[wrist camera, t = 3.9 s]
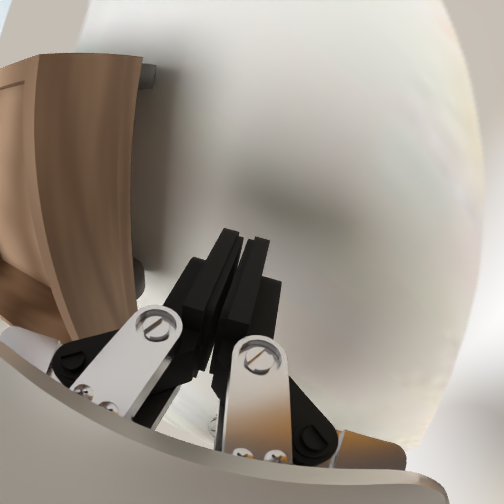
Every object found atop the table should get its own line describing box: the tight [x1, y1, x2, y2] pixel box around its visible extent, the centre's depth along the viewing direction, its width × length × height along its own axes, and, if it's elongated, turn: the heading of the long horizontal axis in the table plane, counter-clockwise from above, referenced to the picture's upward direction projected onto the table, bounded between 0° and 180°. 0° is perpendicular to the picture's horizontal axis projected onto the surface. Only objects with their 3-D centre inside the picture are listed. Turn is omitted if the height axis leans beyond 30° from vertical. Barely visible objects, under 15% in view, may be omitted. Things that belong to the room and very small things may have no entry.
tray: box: [0, 53, 156, 344], centre depth 11 cm, size 14×14×9 cm
